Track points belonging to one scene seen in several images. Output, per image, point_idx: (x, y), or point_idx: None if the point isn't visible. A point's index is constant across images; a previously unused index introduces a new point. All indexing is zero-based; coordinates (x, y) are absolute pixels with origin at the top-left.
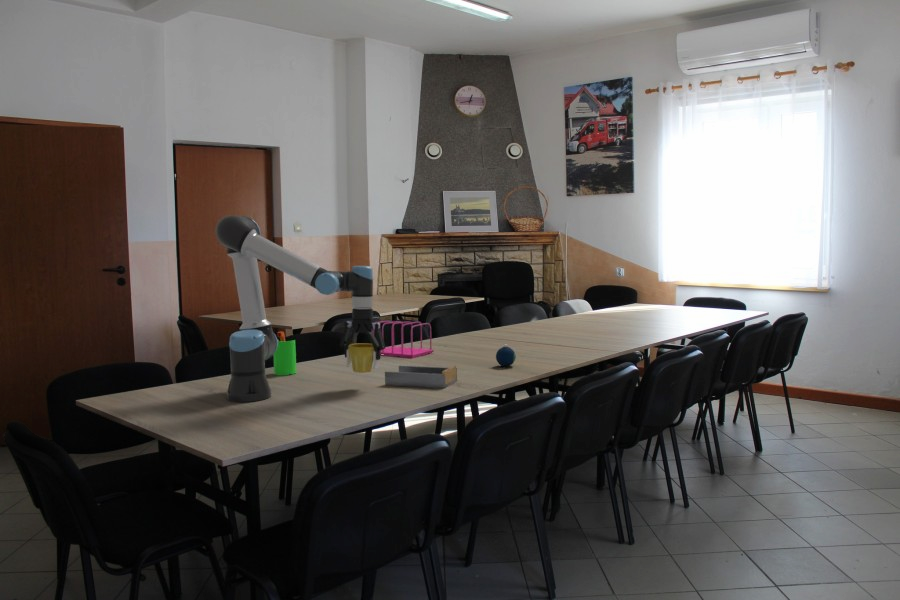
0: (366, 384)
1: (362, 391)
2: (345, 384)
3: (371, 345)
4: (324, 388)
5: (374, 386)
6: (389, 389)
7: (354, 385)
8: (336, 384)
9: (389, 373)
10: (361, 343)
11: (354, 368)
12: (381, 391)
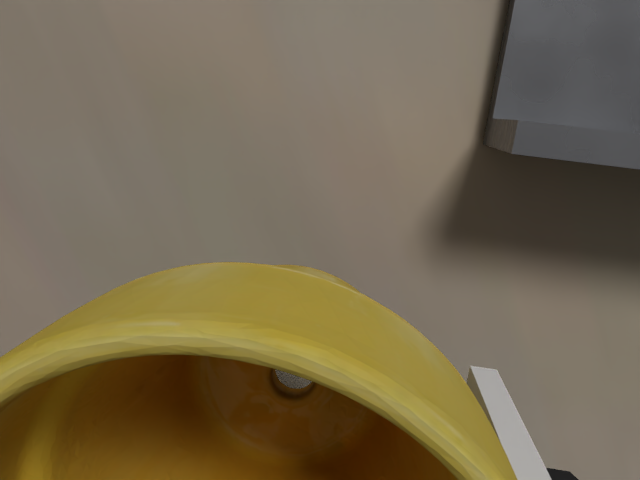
0: (293, 137)
1: None
2: (108, 160)
3: (351, 389)
4: (22, 329)
5: (397, 216)
6: (571, 326)
7: (203, 193)
8: (34, 170)
9: (571, 160)
10: (35, 372)
11: (226, 469)
12: (518, 403)
